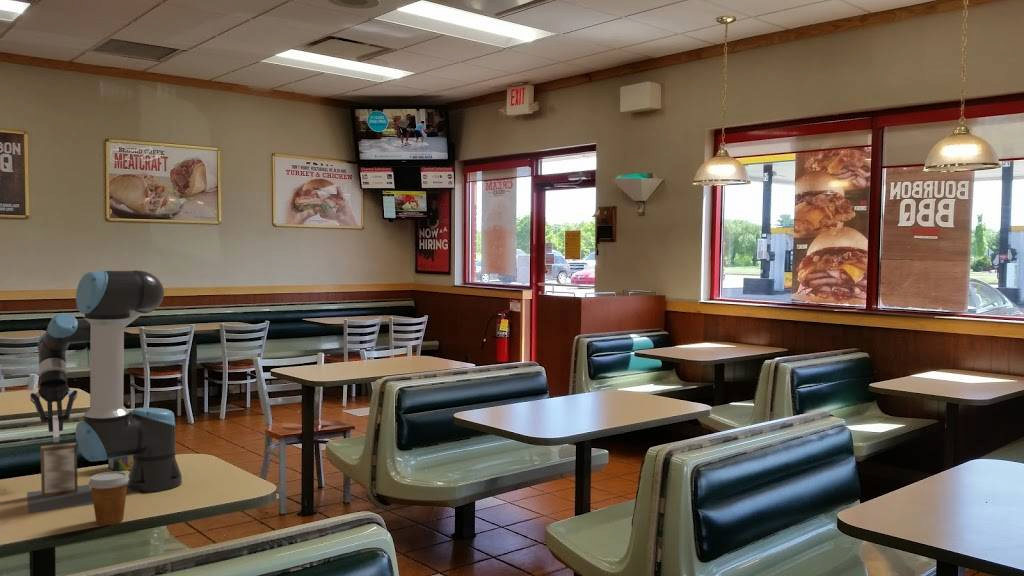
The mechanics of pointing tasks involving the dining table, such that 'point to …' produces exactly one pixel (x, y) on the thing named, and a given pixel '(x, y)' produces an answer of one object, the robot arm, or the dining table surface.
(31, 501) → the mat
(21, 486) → the dining table surface
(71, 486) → the menu board
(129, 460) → the chalk box
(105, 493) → the disposable coffee cup
